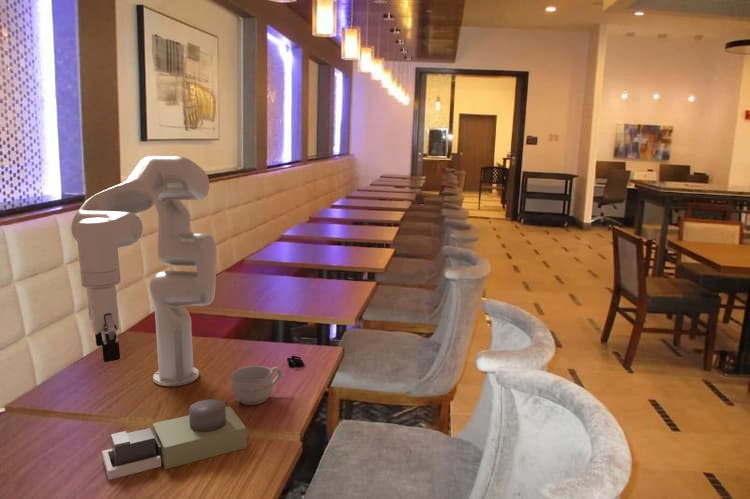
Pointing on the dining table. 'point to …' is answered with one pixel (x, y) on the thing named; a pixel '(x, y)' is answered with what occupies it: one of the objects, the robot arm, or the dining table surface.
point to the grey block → (132, 446)
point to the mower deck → (188, 439)
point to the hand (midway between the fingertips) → (108, 352)
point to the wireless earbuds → (295, 361)
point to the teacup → (254, 383)
